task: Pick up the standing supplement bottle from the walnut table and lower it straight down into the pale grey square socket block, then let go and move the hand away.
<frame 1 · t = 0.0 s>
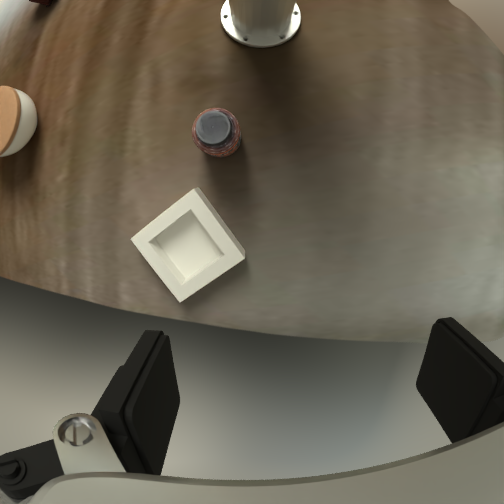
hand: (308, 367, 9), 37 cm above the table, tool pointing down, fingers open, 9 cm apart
lidded bowl: (25, 124, 41), on the table
socket: (191, 241, 47), on the table
supplement bottle: (221, 138, 43), on the table
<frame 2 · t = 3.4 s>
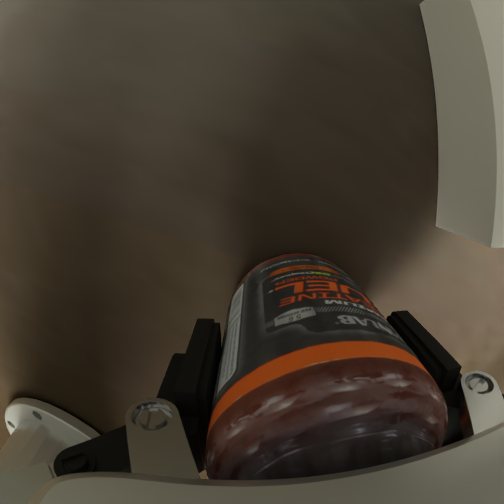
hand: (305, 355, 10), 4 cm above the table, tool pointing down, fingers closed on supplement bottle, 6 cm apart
supplement bottle: (292, 309, 14), on the table, touching gripper
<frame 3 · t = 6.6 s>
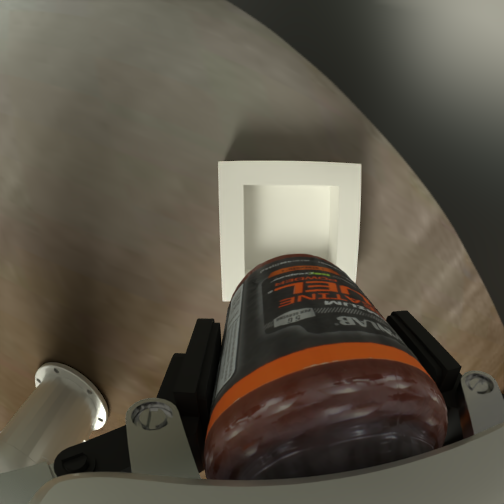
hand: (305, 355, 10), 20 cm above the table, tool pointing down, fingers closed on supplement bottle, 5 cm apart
socket: (285, 225, 29), on the table
supplement bottle: (292, 310, 14), point 16 cm above the table, touching gripper
when the fingers open (6 cm above the table, at t = 9.8 s): supplement bottle drops 1 cm, resting on socket.
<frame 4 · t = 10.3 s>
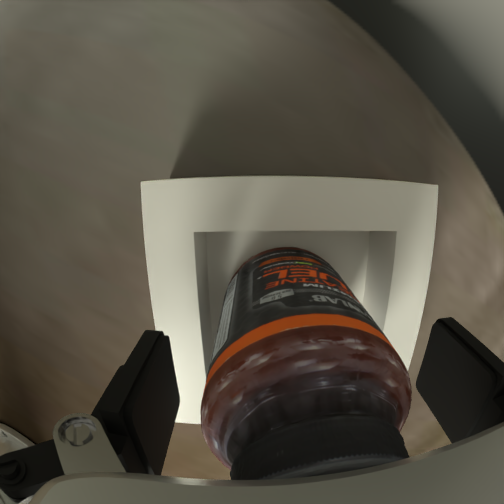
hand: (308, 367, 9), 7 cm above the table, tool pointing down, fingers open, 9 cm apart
socket: (286, 289, 16), on the table
supplement bottle: (283, 298, 15), point 1 cm above the table, touching socket
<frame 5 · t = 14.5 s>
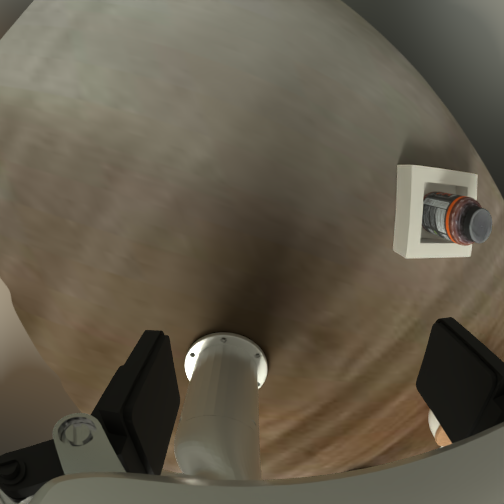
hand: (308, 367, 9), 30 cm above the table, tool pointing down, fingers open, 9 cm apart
lidded bowl: (444, 397, 48), on the table
socket: (430, 209, 38), on the table
supplement bottle: (431, 211, 37), point 1 cm above the table, touching socket
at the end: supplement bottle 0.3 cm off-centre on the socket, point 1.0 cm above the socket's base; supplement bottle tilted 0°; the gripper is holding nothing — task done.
